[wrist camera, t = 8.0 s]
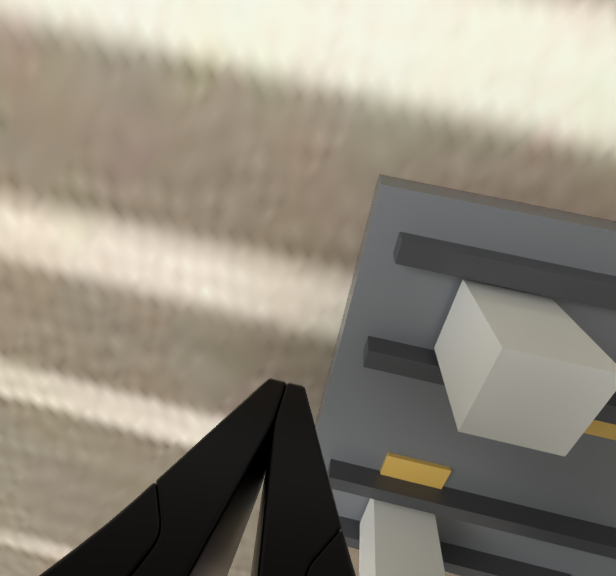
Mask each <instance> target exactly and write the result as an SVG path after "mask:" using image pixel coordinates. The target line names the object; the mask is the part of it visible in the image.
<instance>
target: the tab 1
mask: <svg viewBox="0 0 616 576" xmlns="http://www.w3.org/2000/svg"><path fill="white" fill-rule="evenodd" d="M359 576H445V571H444V565H443V559H442V553H441V547H440V541H439V536H438V530H437V524H436V518H435V514H431V513H427V512H423V511H419V510H415V509H411V508H407V507H403V506H399V505H395V504H391V503H387V502H383V501H379V500H375V499H371V498H370V500H369V502H368V505H367V507H366V510H365V512H364V514H363V517H362V519H361V522H360V544H359Z"/></svg>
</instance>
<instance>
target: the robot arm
mask: <svg viewBox="0 0 616 576" xmlns="http://www.w3.org/2000/svg"><path fill="white" fill-rule="evenodd" d="M264 476H265V478H264ZM263 479H264V484H263V490H262V497H261V504H260V512H259V519H258V526H257V534H256V541H255V548H254V556H253V563H252V570H251V576H356V575H355V572H354V568H353V565H352V562H351V558H350V555H349V551H348V548H347V544H346V540H345V536H344V533H343V531H341V529H342V526H341V522H340V518H339V515H338V511H337V507H336V503H335V500H334V496H333V492H332V488H331V485H330V481H329V477H328V473H327V470H326V466H325V462H324V458H323V454H322V451H321V447H320V443H319V439H318V436H317V432H316V428H315V424H314V421H313V417H312V413H311V409H310V406H309V402H308V398H307V394H306V391H305V388H304V386H302V385H298V384H294V383H287V384H286V383H285V382H284V381H281V380H277V379H272V378H270V379H268V380H266V381H265V382H264V383H263V384H262V385H261V386H260V387H259V388H258V389H257V390H255V391H254V392H253V393H252V394H251V395H250V396H249V397H248V398H247V399H245V400H244V401H243V402H242V403H241V404H240V405H239V406H238V407H237V408H236V409H234V410H233V411H232V412H231V413H230V414H229V415H228V416H227V417H226V418H225V419H223V420H222V421H221V422H220V423H219V424H218V425H217V426H216V427H215V428H214V429H212V430H211V431H210V432H209V433H208V434H207V435H206V436H205V437H204V438H202V439H201V440H200V441H199V442H198V443H197V444H196V445H195V446H194V447H193V448H191V449H190V450H189V451H188V452H187V453H186V454H185V455H184V456H183V457H182V458H180V459H179V460H178V461H177V462H176V463H175V464H174V465H173V466H172V467H171V468H169V469H168V470H167V471H166V472H165V473H164V474H163V475H162V476H161V477H160V478H158V479H157V481H156V484H155V483H153V484H151V485H150V486H149V487H148V488H147V489H146V490H145V491H144V492H143V493H142V494H141V495H139V496H138V497H137V498H136V499H135V500H134V501H133V502H132V503H130V504H129V505H128V506H127V507H126V508H125V509H123V510H122V511H121V512H120V513H119V514H118V515H116V516H115V517H114V518H113V519H112V520H111V521H109V522H108V523H107V524H106V525H105V526H103V527H102V528H101V529H99V530H98V531H97V532H96V533H94V534H93V535H92V536H90V537H89V538H88V539H87V540H85V541H84V542H83V543H82V544H80V545H79V546H78V547H76V548H75V549H74V550H73V551H71V552H70V553H69V554H67V555H66V556H65V557H63V558H62V559H61V560H59V561H58V562H57V563H55V564H54V565H53V566H51V567H50V568H49V569H47V570H46V571H45V572H43V573H42V574H41V575H39V576H227V574H228V572H229V569H230V567H231V564H232V561H233V559H234V556H235V554H236V551H237V548H238V546H239V543H240V541H241V538H242V535H243V533H244V530H245V527H246V525H247V522H248V520H249V517H250V514H251V512H252V509H253V507H254V504H255V501H256V499H257V496H258V494H259V491H260V488H261V485H262V482H263Z"/></svg>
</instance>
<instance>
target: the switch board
mask: <svg viewBox="0 0 616 576" xmlns="http://www.w3.org/2000/svg"><path fill="white" fill-rule="evenodd" d="M463 279H465V280H470V281H474V282H479V283H484V284H488V285H493V286H498V287H503V288H507V289H512V290H517V291H521V292H526V293H531V294H536V295H540V296H545V297H550V298H552V299H553V300H554V301H555V302H556V303H557V304H558V305H559V306H560V308H561V309H562V310H563V311H564V312H565V313H566V314H567V315H568V316H569V317H570V318H571V319H572V320H573V321H574V322H575V323H576V324H577V325H578V326H579V327H580V328H581V329H582V330H583V331H584V332H585V333H586V334H587V335H588V336H589V337H590V338H591V339H592V340H593V341H594V342H595V343H596V344H597V345H598V346H599V347H600V348H601V349H602V350H603V351H604V352H605V353H606V354H607V355H608V356H609V357H610V358H611V359H612V360H613V361H614V362H615V363H616V222H615V221H610V220H605V219H600V218H595V217H590V216H585V215H580V214H575V213H570V212H565V211H560V210H555V209H550V208H545V207H540V206H535V205H530V204H525V203H520V202H515V201H510V200H505V199H500V198H495V197H490V196H485V195H479V194H474V193H469V192H464V191H459V190H454V189H449V188H444V187H439V186H434V185H429V184H424V183H419V182H414V181H409V180H404V179H399V178H394V177H389V176H384V175H379V178H378V182H377V186H376V190H375V193H374V197H373V201H372V205H371V209H370V213H369V217H368V221H367V225H366V229H365V233H364V237H363V241H362V245H361V248H360V252H359V256H358V260H357V264H356V268H355V272H354V276H353V280H352V284H351V288H350V292H349V296H348V300H347V304H346V307H345V311H344V315H343V319H342V323H341V327H340V331H339V335H338V339H337V343H336V347H335V351H334V355H333V359H332V363H331V366H330V370H329V374H328V378H327V382H326V386H325V390H324V394H323V398H322V402H321V406H320V410H319V414H318V418H317V422H316V425H315V428H316V432H317V436H318V439H319V443H320V447H321V451H322V454H323V458H324V462H325V466H326V470H327V473H328V477H329V481H330V485H331V488H332V492H333V496H334V500H335V503H336V507H337V511H338V515H339V518H340V522H341V526H342V529H341V531H343V533H344V536H345V540H346V544H347V546H348V547H352V548H356V549H359V544H360V522H361V519H362V517H363V514H364V512H365V510H366V507H367V505H368V502H369V500H370V498H371V499H375V500H379V501H383V502H387V503H391V504H395V505H399V506H403V507H407V508H411V509H415V510H419V511H423V512H427V513H431V514H435V518H436V524H437V530H438V536H439V541H440V547H441V553H442V559H443V565H444V571H446V572H450V573H454V574H458V575H461V576H616V392H615V393H614V394H613V395H612V397H611V398H610V399H609V401H608V402H607V403H606V404H605V406H604V407H603V408H602V410H601V411H600V412H599V414H598V415H597V416H596V417H595V419H594V420H593V421H592V423H591V424H590V425H589V426H588V428H587V429H586V430H585V432H584V433H583V434H582V435H581V437H580V438H579V439H578V441H577V442H576V443H575V445H574V446H573V447H572V448H571V450H570V451H569V452H568V454H567V455H566V456H565V457H564V456H560V455H556V454H552V453H547V452H543V451H539V450H535V449H530V448H526V447H522V446H518V445H513V444H509V443H505V442H501V441H496V440H492V439H488V438H484V437H479V436H475V435H471V434H467V433H462V432H458V429H457V426H456V422H455V419H454V415H453V412H452V408H451V405H450V401H449V398H448V395H447V391H446V388H445V384H444V381H443V377H442V374H441V370H440V367H439V363H438V360H437V356H436V353H435V349H434V347H435V345H436V342H437V340H438V337H439V335H440V333H441V330H442V328H443V325H444V323H445V321H446V318H447V316H448V314H449V311H450V309H451V306H452V304H453V302H454V299H455V297H456V294H457V292H458V290H459V287H460V285H461V282H462V280H463Z"/></svg>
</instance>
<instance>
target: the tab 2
mask: <svg viewBox="0 0 616 576" xmlns="http://www.w3.org/2000/svg"><path fill="white" fill-rule="evenodd" d="M434 349H435V353H436V356H437V360H438V363H439V367H440V370H441V374H442V377H443V381H444V384H445V388H446V391H447V395H448V398H449V401H450V405H451V408H452V412H453V415H454V419H455V422H456V426H457V429H458V432H462V433H467V434H471V435H475V436H479V437H484V438H488V439H492V440H496V441H501V442H505V443H509V444H513V445H518V446H522V447H526V448H530V449H535V450H539V451H543V452H547V453H552V454H556V455H560V456H564V457H565V456H566V455H567V454H568V452H569V451H570V450H571V448H572V447H573V446H574V445H575V443H576V442H577V441H578V439H579V438H580V437H581V435H582V434H583V433H584V432H585V430H586V429H587V428H588V426H589V425H590V424H591V423H592V421H593V420H594V419H595V417H596V416H597V415H598V414H599V412H600V411H601V410H602V408H603V407H604V406H605V404H606V403H607V402H608V401H609V399H610V398H611V397H612V395H613V394H614V393H615V392H616V363H615V362H614V361H613V360H612V359H611V358H610V357H609V356H608V355H607V354H606V353H605V352H604V351H603V350H602V349H601V348H600V347H599V346H598V345H597V344H596V343H595V342H594V341H593V340H592V339H591V338H590V337H589V336H588V335H587V334H586V333H585V332H584V331H583V330H582V329H581V328H580V327H579V326H578V325H577V324H576V323H575V322H574V321H573V320H572V319H571V318H570V317H569V316H568V315H567V314H566V313H565V312H564V311H563V310H562V309H561V308H560V306H559V305H558V304H557V303H556V302H555V301H554V300H553V299H552V298H550V297H545V296H540V295H536V294H531V293H526V292H521V291H517V290H512V289H507V288H503V287H498V286H493V285H488V284H484V283H479V282H474V281H470V280H465V279H463V280H462V282H461V285H460V287H459V290H458V292H457V294H456V297H455V299H454V302H453V304H452V306H451V309H450V311H449V314H448V316H447V318H446V321H445V323H444V325H443V328H442V330H441V333H440V335H439V337H438V340H437V342H436V345H435V347H434Z"/></svg>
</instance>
